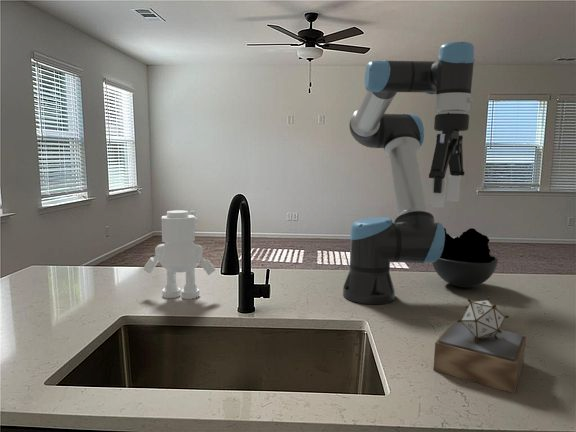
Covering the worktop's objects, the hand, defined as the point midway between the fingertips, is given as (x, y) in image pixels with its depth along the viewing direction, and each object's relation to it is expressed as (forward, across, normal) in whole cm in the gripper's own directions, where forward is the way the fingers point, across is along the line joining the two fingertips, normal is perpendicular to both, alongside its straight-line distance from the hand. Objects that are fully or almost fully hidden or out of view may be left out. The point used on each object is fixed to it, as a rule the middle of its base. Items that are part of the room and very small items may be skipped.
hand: (445, 204), depth 102 cm
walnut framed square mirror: (+29, -18, -14) cm, 37 cm away
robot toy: (+31, -24, +68) cm, 78 cm away
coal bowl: (+31, +37, +2) cm, 48 cm away
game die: (+24, -18, -13) cm, 33 cm away
